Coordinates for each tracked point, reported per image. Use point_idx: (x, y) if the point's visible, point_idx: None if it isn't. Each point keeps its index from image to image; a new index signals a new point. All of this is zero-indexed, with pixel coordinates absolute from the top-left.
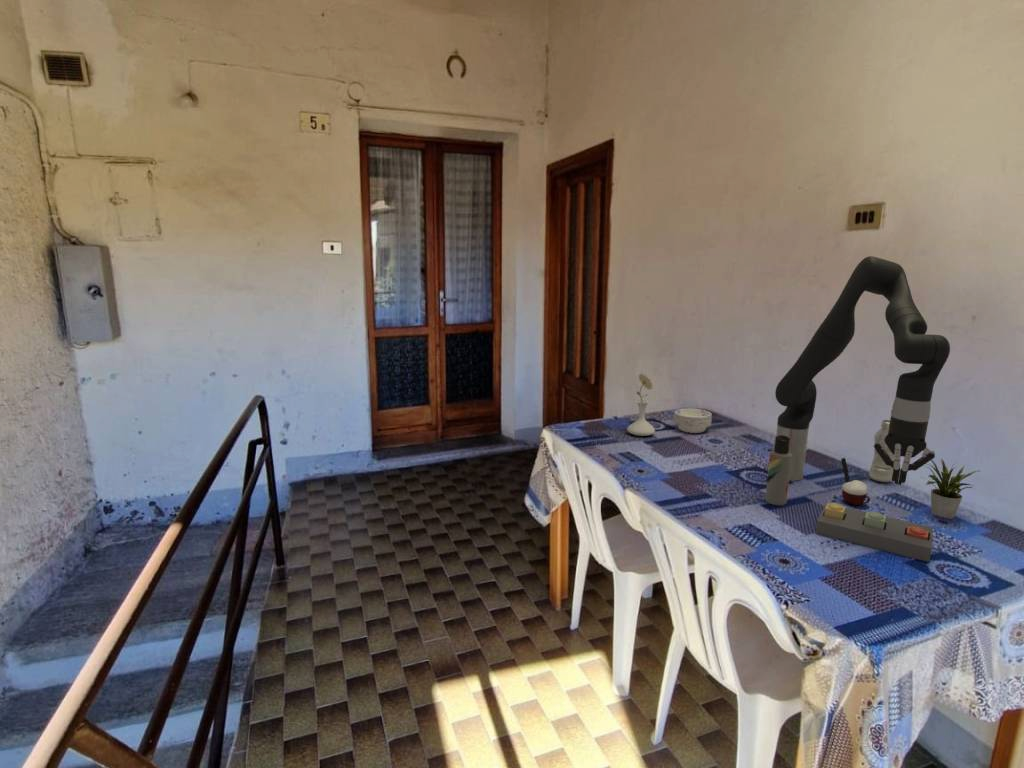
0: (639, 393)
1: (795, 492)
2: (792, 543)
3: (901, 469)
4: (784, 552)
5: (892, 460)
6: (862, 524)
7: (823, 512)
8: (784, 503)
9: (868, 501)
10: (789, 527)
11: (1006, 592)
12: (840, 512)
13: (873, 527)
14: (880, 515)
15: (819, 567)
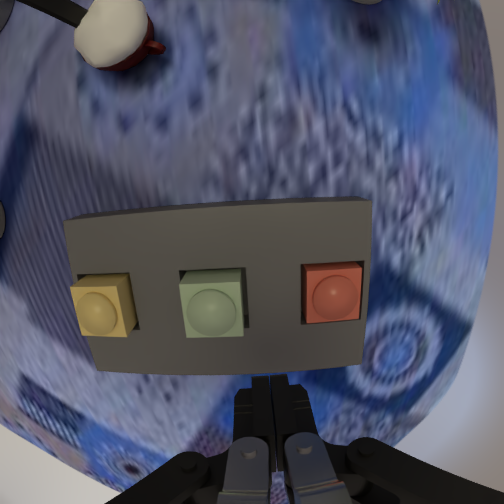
0: None
1: (3, 106)
2: (105, 416)
3: (282, 452)
4: (116, 448)
5: (214, 487)
6: None
7: None
8: (2, 227)
9: (163, 52)
10: (64, 352)
11: (451, 366)
12: (120, 335)
13: None
14: (225, 314)
15: None
